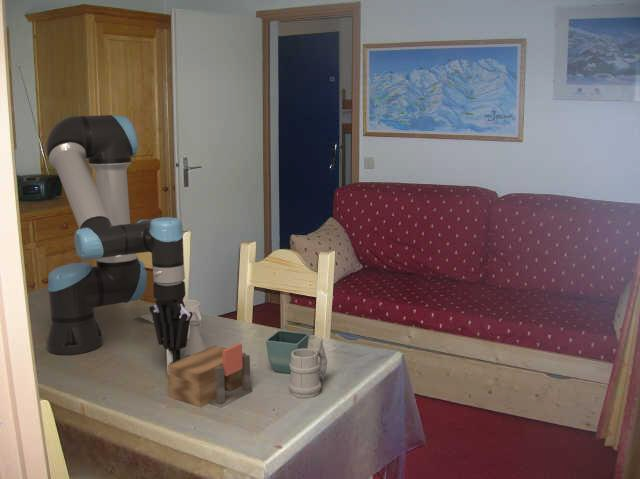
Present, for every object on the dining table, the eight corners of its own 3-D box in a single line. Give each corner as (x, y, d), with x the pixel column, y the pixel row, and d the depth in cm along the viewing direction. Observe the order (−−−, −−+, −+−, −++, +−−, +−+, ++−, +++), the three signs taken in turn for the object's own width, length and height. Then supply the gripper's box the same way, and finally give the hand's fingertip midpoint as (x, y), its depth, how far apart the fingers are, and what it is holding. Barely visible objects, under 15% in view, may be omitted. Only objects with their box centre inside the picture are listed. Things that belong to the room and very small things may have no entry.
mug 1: (189, 344, 199) (188, 311, 197) (168, 334, 208) (167, 303, 206) (213, 338, 204) (212, 306, 203) (192, 329, 213) (190, 298, 211)
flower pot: (310, 365, 182) (309, 333, 181) (298, 378, 174) (297, 344, 173) (279, 362, 185) (278, 329, 184) (265, 374, 177) (265, 340, 175)
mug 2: (282, 393, 165) (281, 345, 163) (313, 378, 174) (313, 332, 172) (306, 401, 161) (306, 352, 158) (338, 385, 170) (337, 338, 167)
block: (169, 397, 164) (167, 360, 162) (216, 375, 177) (215, 341, 175) (213, 411, 156) (211, 373, 154) (259, 387, 169) (258, 352, 167)
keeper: (223, 375, 160) (222, 350, 159) (239, 367, 164) (238, 343, 163) (226, 376, 159) (225, 351, 158) (242, 368, 164) (241, 344, 162)
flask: (204, 362, 186) (202, 326, 184) (178, 360, 187) (176, 324, 185) (213, 352, 193) (212, 318, 191) (188, 351, 194) (187, 316, 192)
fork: (172, 339, 212) (172, 331, 211) (131, 319, 224) (131, 311, 224) (180, 337, 214) (180, 329, 213) (138, 317, 226) (138, 309, 226)
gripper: (139, 281, 170) (144, 372, 174) (176, 288, 162) (181, 384, 167) (162, 275, 176) (166, 363, 180) (199, 282, 168) (203, 374, 173)
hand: (173, 373), depth 174 cm, fingers closed
